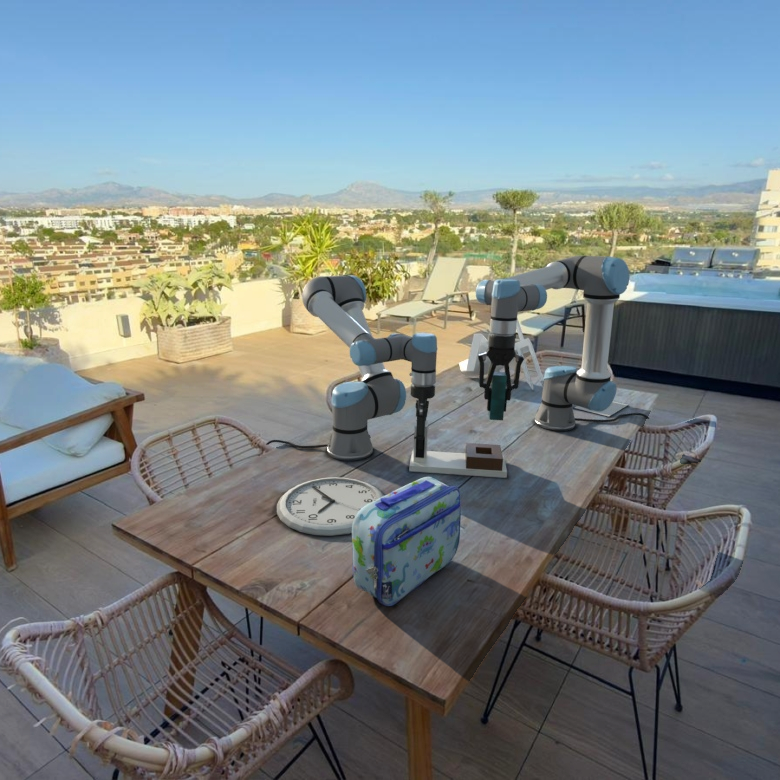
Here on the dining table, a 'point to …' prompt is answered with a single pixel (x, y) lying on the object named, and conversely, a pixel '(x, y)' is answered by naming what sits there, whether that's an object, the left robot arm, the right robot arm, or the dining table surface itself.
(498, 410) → the peg
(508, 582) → the dining table surface
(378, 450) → the dining table surface
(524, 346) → the white plastic object
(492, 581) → the dining table surface
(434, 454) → the peg board
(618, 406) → the invitation card
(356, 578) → the lunch box
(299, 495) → the wall clock
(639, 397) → the dining table surface
